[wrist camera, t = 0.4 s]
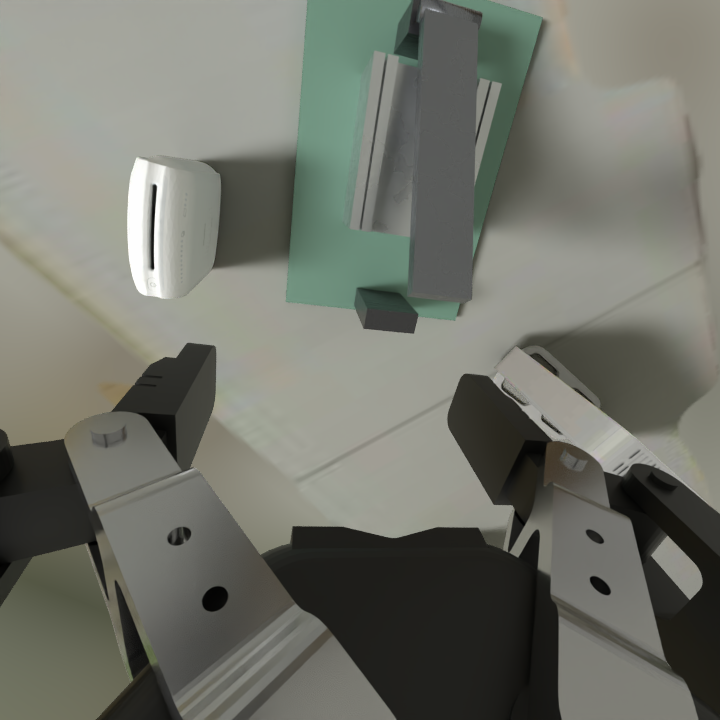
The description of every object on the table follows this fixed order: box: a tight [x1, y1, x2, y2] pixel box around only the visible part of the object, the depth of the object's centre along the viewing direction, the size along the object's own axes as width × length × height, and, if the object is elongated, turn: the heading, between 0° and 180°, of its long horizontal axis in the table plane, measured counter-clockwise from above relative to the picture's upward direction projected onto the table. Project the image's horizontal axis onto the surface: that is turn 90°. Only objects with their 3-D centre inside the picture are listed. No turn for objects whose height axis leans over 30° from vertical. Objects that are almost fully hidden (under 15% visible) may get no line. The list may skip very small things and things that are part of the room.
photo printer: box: [128, 155, 221, 299], centre depth 29 cm, size 10×4×12 cm, turn 165°
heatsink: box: [342, 0, 502, 334], centre depth 32 cm, size 24×10×7 cm, turn 171°
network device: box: [493, 345, 716, 511], centre depth 42 cm, size 26×9×20 cm, turn 51°
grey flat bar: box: [407, 0, 483, 303], centre depth 24 cm, size 21×4×1 cm
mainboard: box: [286, 0, 543, 321], centre depth 35 cm, size 28×20×1 cm
